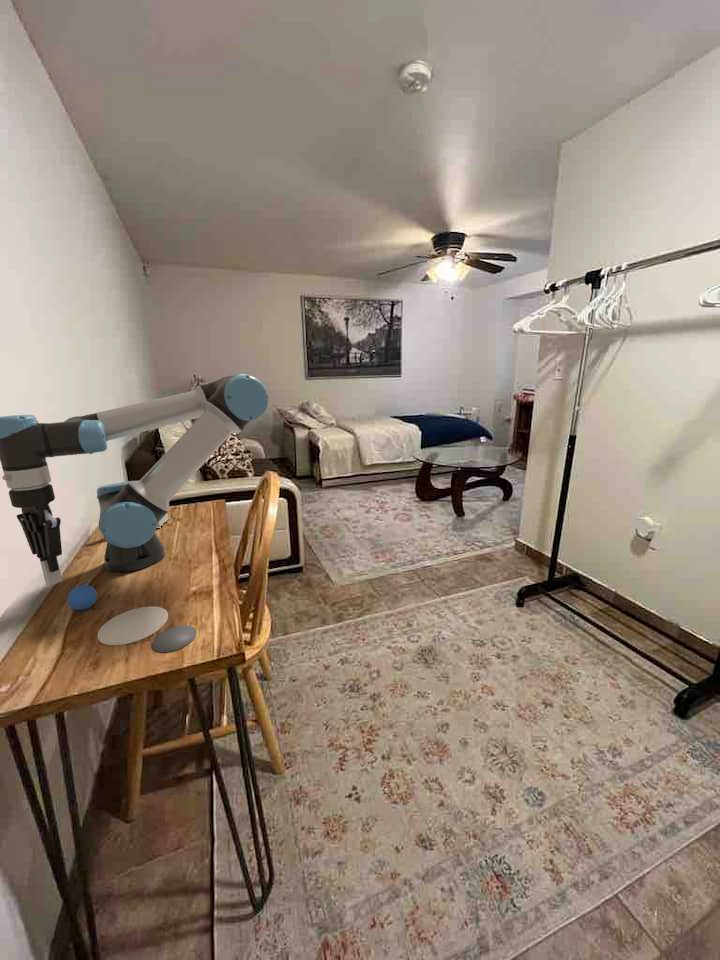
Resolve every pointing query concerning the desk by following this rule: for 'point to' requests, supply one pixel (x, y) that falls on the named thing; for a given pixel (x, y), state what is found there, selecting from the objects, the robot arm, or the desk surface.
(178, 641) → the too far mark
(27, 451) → the robot arm
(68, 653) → the desk surface
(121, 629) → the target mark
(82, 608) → the ball
